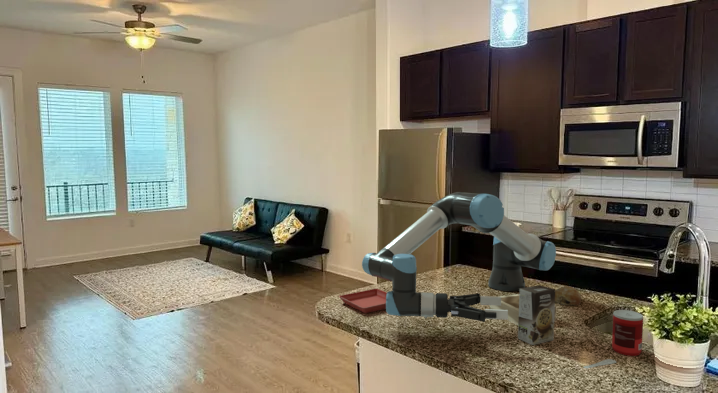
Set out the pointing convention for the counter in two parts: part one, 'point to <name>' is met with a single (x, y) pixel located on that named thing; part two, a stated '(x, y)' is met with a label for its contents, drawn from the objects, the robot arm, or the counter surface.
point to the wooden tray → (512, 307)
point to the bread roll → (567, 296)
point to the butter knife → (601, 363)
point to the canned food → (627, 332)
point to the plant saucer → (366, 300)
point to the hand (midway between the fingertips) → (504, 307)
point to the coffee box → (536, 314)
